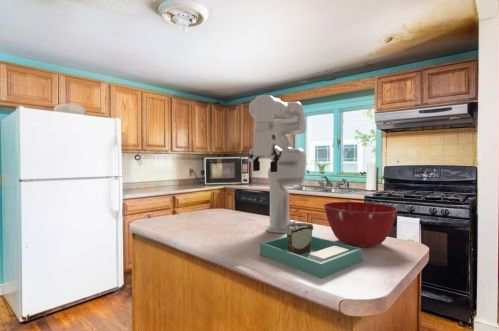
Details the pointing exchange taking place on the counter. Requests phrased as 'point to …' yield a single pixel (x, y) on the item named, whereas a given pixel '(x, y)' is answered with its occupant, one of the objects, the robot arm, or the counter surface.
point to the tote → (301, 262)
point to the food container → (299, 237)
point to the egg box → (327, 253)
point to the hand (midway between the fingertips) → (264, 171)
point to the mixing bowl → (360, 222)
